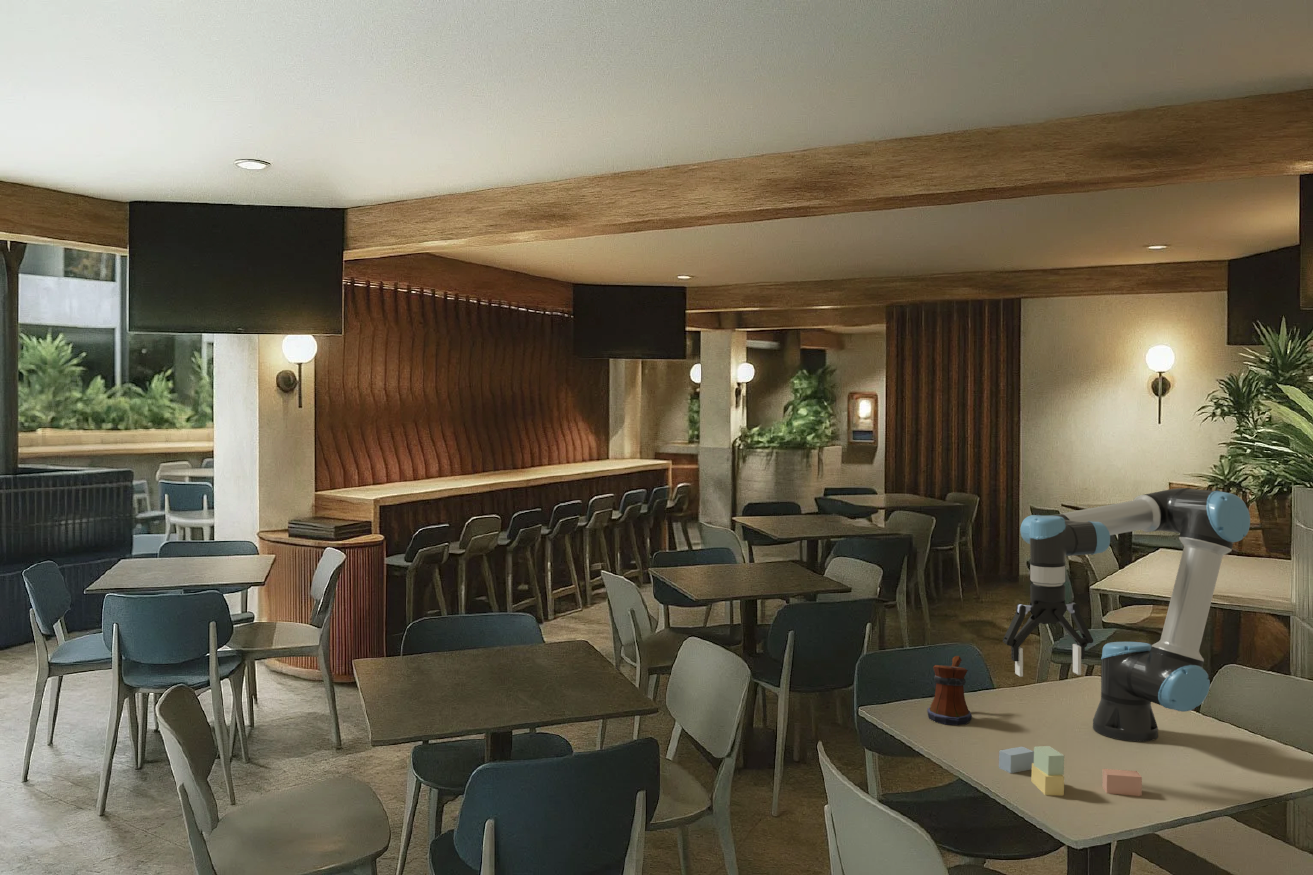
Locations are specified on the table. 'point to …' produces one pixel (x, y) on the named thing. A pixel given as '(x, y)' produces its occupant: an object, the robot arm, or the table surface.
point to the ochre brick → (1047, 782)
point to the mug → (950, 695)
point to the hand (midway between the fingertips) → (1048, 674)
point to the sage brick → (1049, 760)
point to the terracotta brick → (1122, 782)
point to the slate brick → (1016, 759)
